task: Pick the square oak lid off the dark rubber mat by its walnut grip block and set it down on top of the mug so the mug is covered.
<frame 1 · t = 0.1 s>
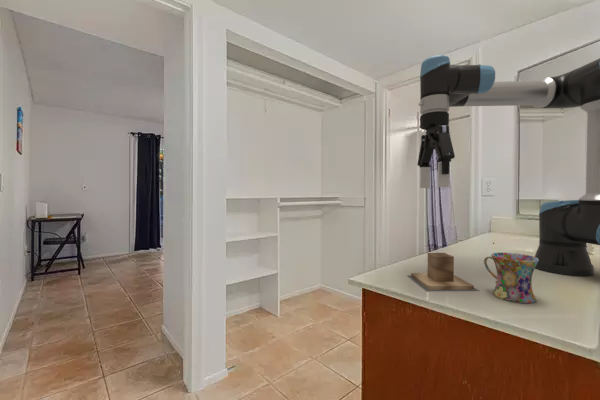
hand: (433, 187, 82), 28 cm above the counter, fingers open, 13 cm apart
mat: (440, 284, 81), on the counter
lid: (440, 282, 81), point 1 cm above the counter, touching mat
mug: (507, 298, 71), on the counter
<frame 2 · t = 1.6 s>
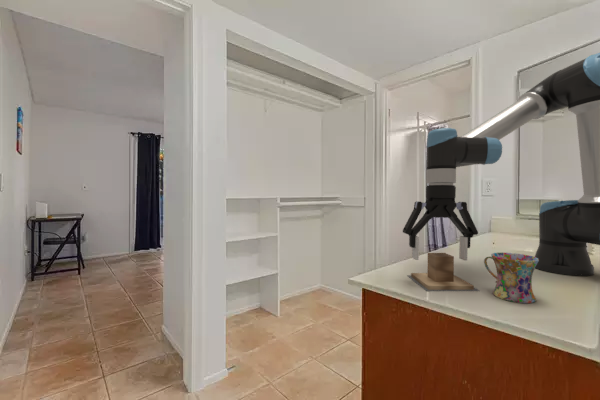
hand: (439, 259, 81), 7 cm above the counter, fingers open, 13 cm apart
nothing on the counter moved.
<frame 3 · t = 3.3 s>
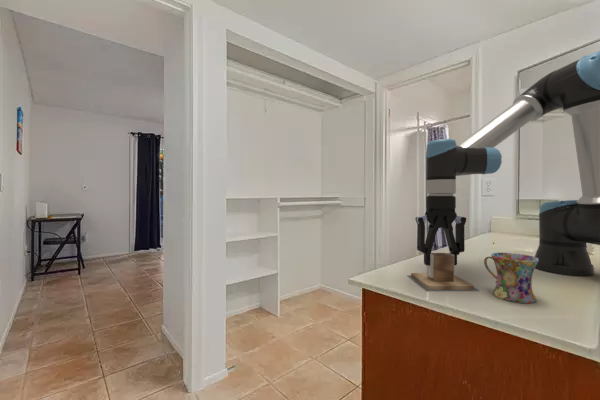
hand: (440, 276, 81), 2 cm above the counter, fingers closed on lid, 5 cm apart
lid: (440, 282, 81), point 1 cm above the counter, touching gripper, mat
everything else where it was.
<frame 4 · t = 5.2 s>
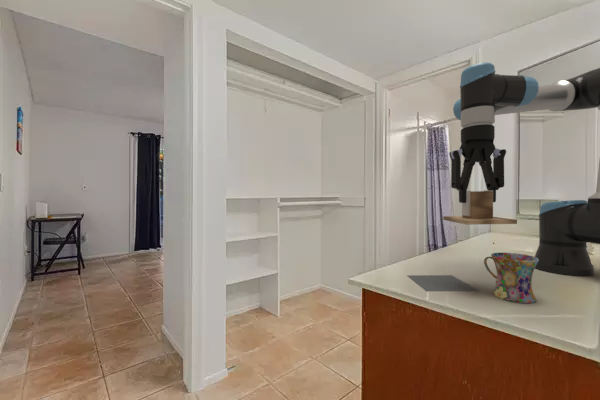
hand: (477, 215, 75), 20 cm above the counter, fingers closed on lid, 5 cm apart
lid: (477, 221, 75), point 19 cm above the counter, touching gripper
everything else where it was.
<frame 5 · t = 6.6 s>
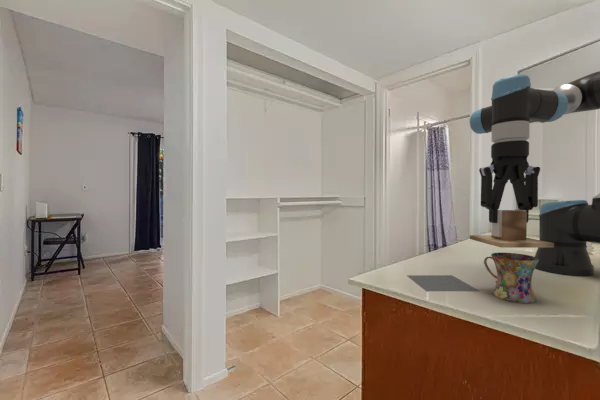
hand: (508, 235, 70), 15 cm above the counter, fingers closed on lid, 5 cm apart
lid: (508, 242, 70), point 14 cm above the counter, touching gripper
everything else where it was.
when the fingers open (14 cm above the counter, at t = 7.5 s): lid drops 2 cm, resting on mug.
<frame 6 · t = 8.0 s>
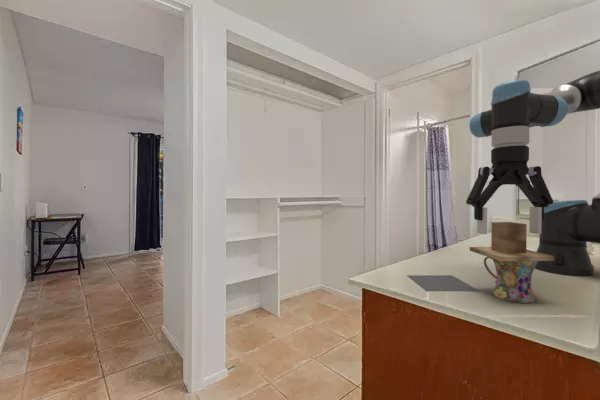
hand: (508, 233, 70), 16 cm above the counter, fingers open, 12 cm apart
lid: (508, 255, 70), point 11 cm above the counter, touching mug
mug: (507, 298, 71), on the counter, touching lid
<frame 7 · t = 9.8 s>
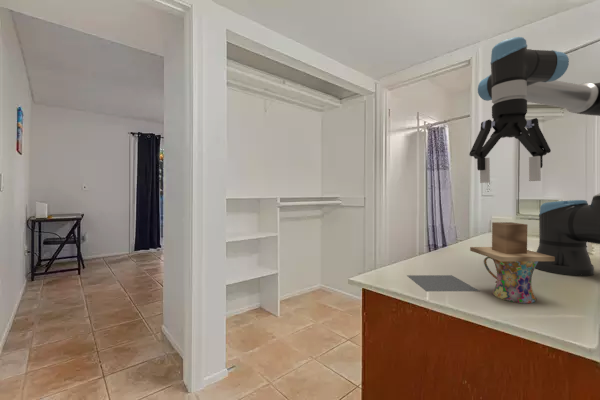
hand: (509, 182, 76), 29 cm above the counter, fingers open, 13 cm apart
nothing on the counter moved.
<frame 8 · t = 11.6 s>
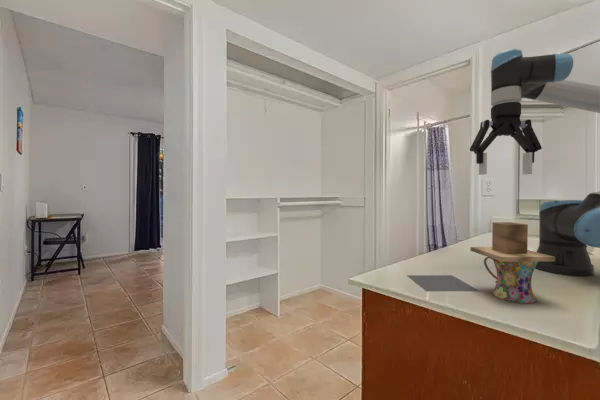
hand: (504, 174, 87), 32 cm above the counter, fingers open, 13 cm apart
nothing on the counter moved.
at the end: lid 0.2 cm from the mug (horizontally); lid point 10.5 cm above the counter; lid tilted 0° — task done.
